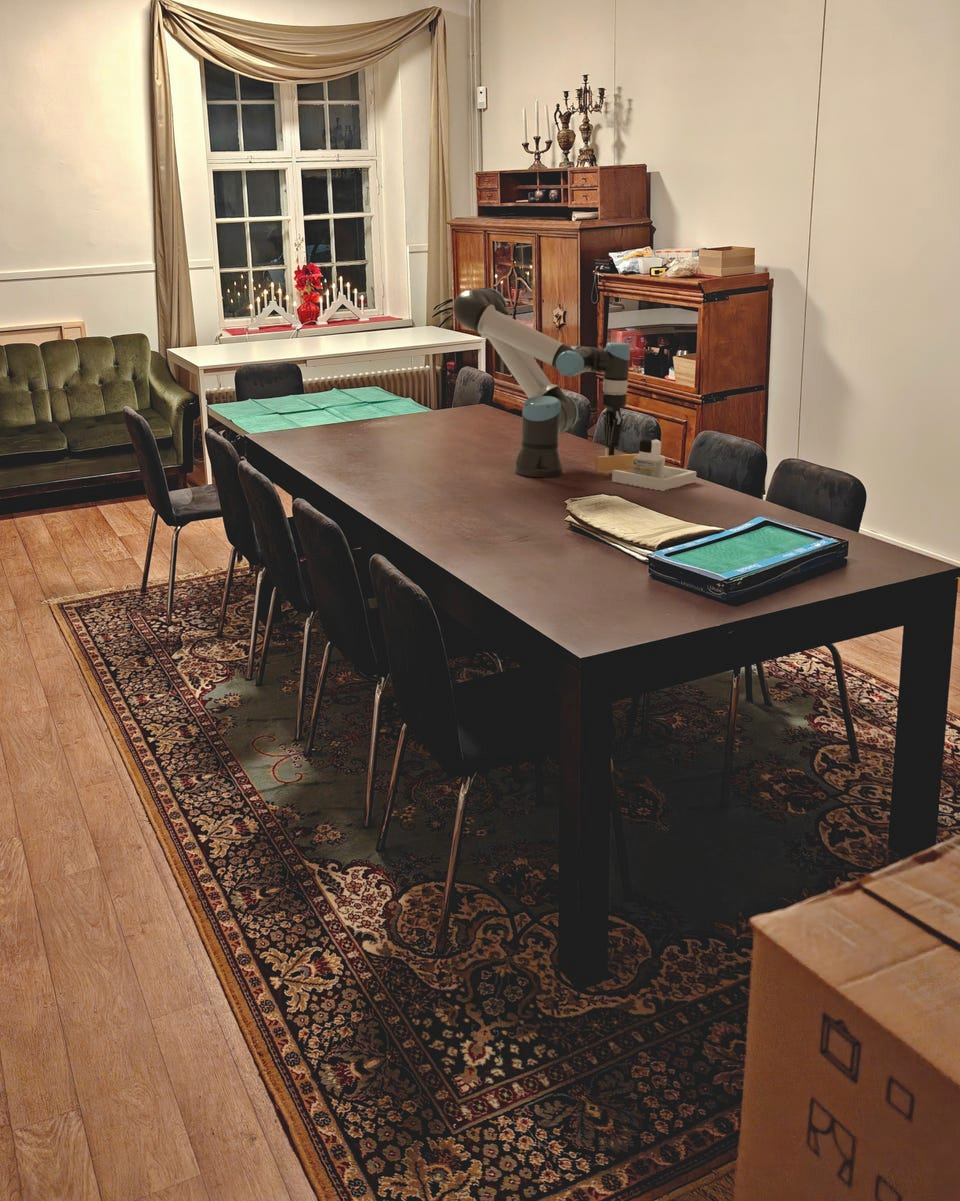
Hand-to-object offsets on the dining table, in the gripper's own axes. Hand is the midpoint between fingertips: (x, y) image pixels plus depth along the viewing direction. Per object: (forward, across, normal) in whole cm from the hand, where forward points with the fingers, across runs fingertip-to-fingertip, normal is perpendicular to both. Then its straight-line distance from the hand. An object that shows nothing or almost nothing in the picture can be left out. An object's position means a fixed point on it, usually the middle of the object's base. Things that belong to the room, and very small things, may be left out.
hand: (608, 467), depth 366 cm
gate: (0, -2, -4) cm, 4 cm away
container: (+2, -13, -8) cm, 16 cm away
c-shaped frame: (+2, -15, -10) cm, 18 cm away
